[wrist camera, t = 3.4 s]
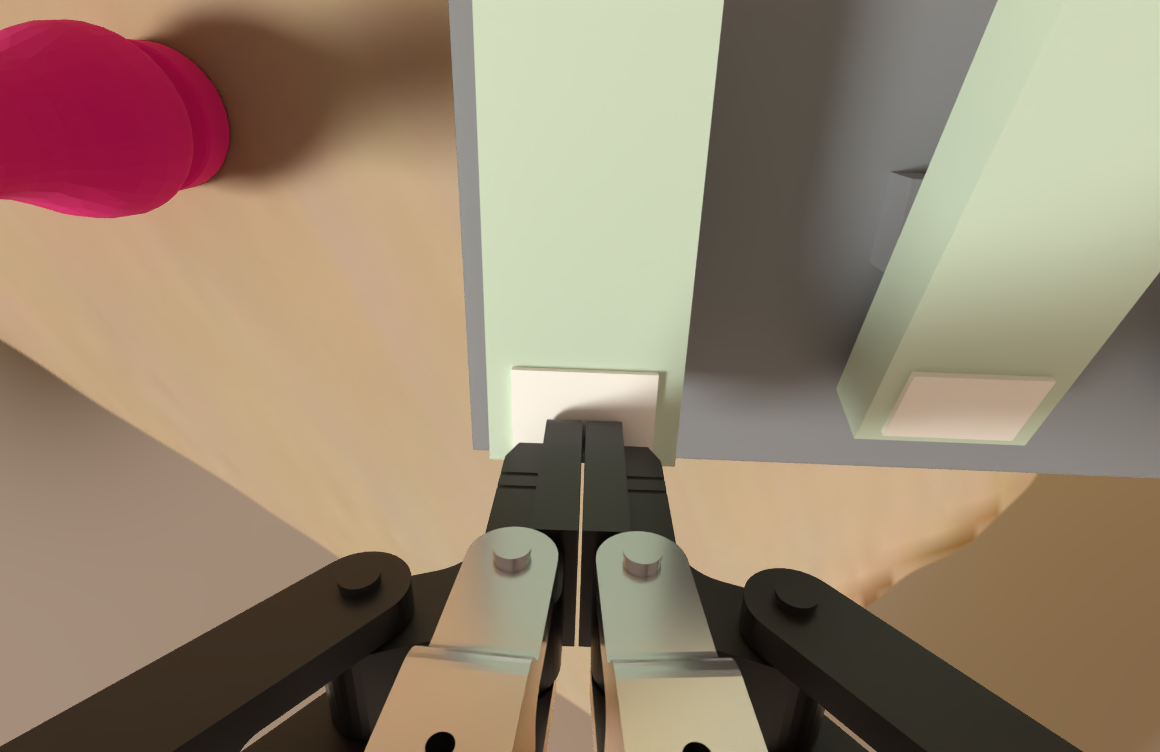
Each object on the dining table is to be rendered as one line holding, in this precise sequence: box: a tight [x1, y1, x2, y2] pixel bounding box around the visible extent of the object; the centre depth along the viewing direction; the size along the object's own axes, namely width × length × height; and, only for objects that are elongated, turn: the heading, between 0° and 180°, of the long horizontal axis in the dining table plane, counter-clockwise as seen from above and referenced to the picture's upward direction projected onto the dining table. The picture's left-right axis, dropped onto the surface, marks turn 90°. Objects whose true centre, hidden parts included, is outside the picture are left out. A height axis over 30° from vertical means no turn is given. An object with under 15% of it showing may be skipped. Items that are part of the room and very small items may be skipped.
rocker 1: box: [472, 0, 724, 467], centre depth 12 cm, size 9×4×2 cm, turn 179°
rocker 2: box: [836, 0, 1160, 446], centre depth 11 cm, size 9×4×2 cm, turn 179°
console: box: [448, 0, 1160, 478], centre depth 21 cm, size 13×22×17 cm, turn 89°
